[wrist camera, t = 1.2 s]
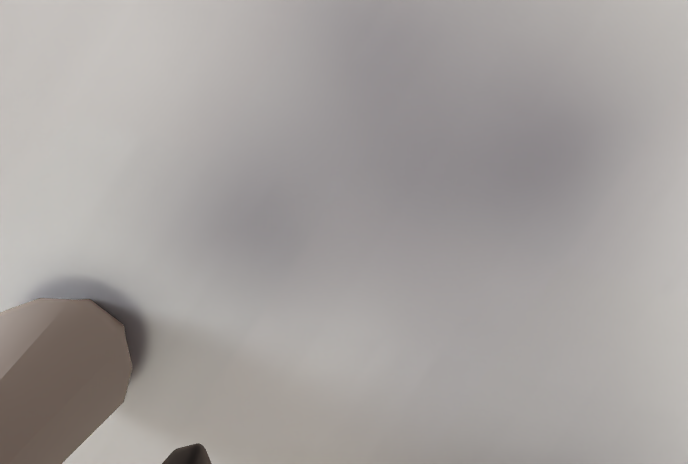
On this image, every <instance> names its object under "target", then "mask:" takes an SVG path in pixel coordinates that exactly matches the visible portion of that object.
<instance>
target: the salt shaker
mask: <svg viewBox="0 0 688 464" xmlns="http://www.w3.org/2000/svg"><path fill="white" fill-rule="evenodd" d="M132 368H133V367H132V363H131V358H130V354H129V350H128V346H127V342H126V336H125V329H124V325H123V324H122V323H120V322H119V321H118V320H117V319H115V318H114V317H113V316H111V315H110V314H109V313H107V312H106V311H105V310H103V309H102V308H101V307H100V306H98V305H97V304H96V303H94V302H93V301H92V300H90V299H78V300H71V299H49V298H39V299H36V300H33V301H30V302H27V303H25V304H22V305H19V306H16V307H13V308H10V309H8V310H5V311H3V312H1V313H0V464H62V463H63V462H64V461H65V460H66V459H67V458H68V457H69V456H70V455H71V454H72V453H73V452H74V451H75V450H76V449H77V448H78V447H79V446H80V445H81V444H82V443H83V442H84V441H85V440H86V439H87V438H88V437H89V436H90V435H91V434H92V433H93V432H94V431H95V430H96V429H97V428H98V427H99V426H100V425H101V424H102V423H103V422H104V421H105V420H106V419H107V418H108V417H109V416H110V415H111V414H112V413H113V412H114V411H115V410H116V409H117V408H118V407H119V406H120V405H121V404H122V403H123V402H124V399H125V396H126V393H127V388H128V384H129V380H130V376H131V372H132Z"/></svg>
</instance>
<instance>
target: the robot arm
mask: <svg viewBox="0 0 688 464" xmlns="http://www.w3.org/2000/svg"><path fill="white" fill-rule="evenodd" d="M162 464H211V461H210V459H209V456H208V454H207V451H206V449H205V448H204V446H203V445H201V444H199V443H198V444H193V445H189V446H185V447H181V448H178V449H176V450H174V451H173V452H172V453H171V454H170V455H169V456H168V458H167V459H166V460H165V461H164V462H163V463H162Z"/></svg>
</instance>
